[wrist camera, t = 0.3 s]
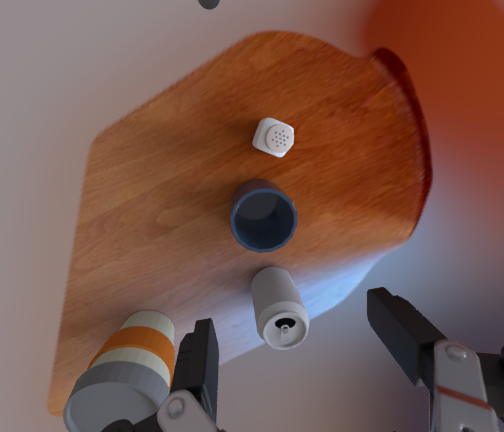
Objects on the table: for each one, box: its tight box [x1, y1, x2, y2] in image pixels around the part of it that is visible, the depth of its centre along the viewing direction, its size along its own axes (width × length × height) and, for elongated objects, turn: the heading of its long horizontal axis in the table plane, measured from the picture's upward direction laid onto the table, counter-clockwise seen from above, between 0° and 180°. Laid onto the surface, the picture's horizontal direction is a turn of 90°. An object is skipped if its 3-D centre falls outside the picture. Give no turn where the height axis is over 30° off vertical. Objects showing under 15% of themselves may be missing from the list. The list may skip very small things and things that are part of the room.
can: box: [251, 267, 309, 350], centre depth 40 cm, size 8×8×12 cm
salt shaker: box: [252, 118, 294, 157], centre depth 34 cm, size 4×4×10 cm
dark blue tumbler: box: [230, 179, 297, 253], centre depth 38 cm, size 9×9×7 cm
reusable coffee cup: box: [63, 310, 175, 432], centre depth 40 cm, size 13×13×15 cm
